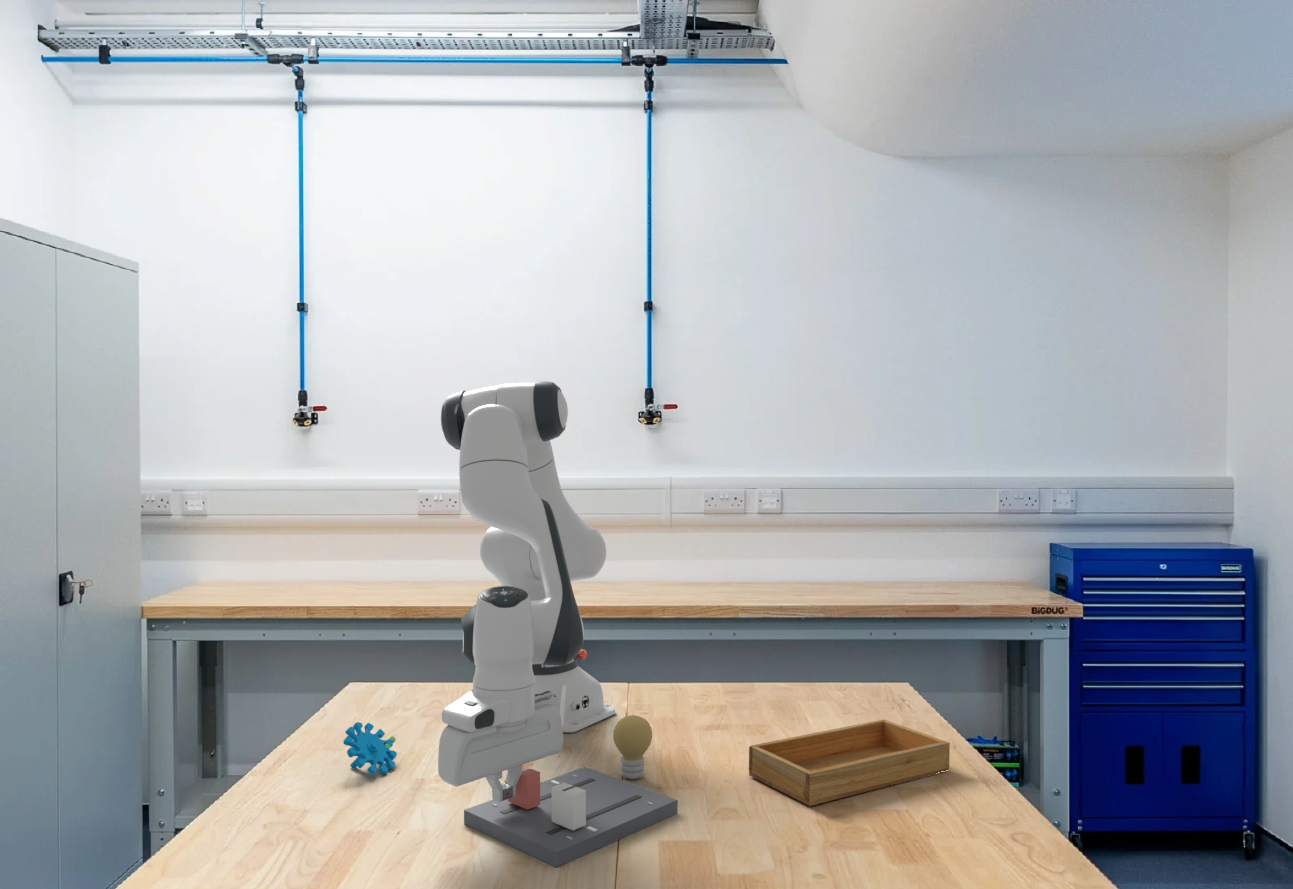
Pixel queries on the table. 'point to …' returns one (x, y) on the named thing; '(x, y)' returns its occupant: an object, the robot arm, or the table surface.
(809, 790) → the tray
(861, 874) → the table surface
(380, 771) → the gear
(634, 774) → the light bulb
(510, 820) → the console
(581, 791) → the grey fader
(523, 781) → the red fader
